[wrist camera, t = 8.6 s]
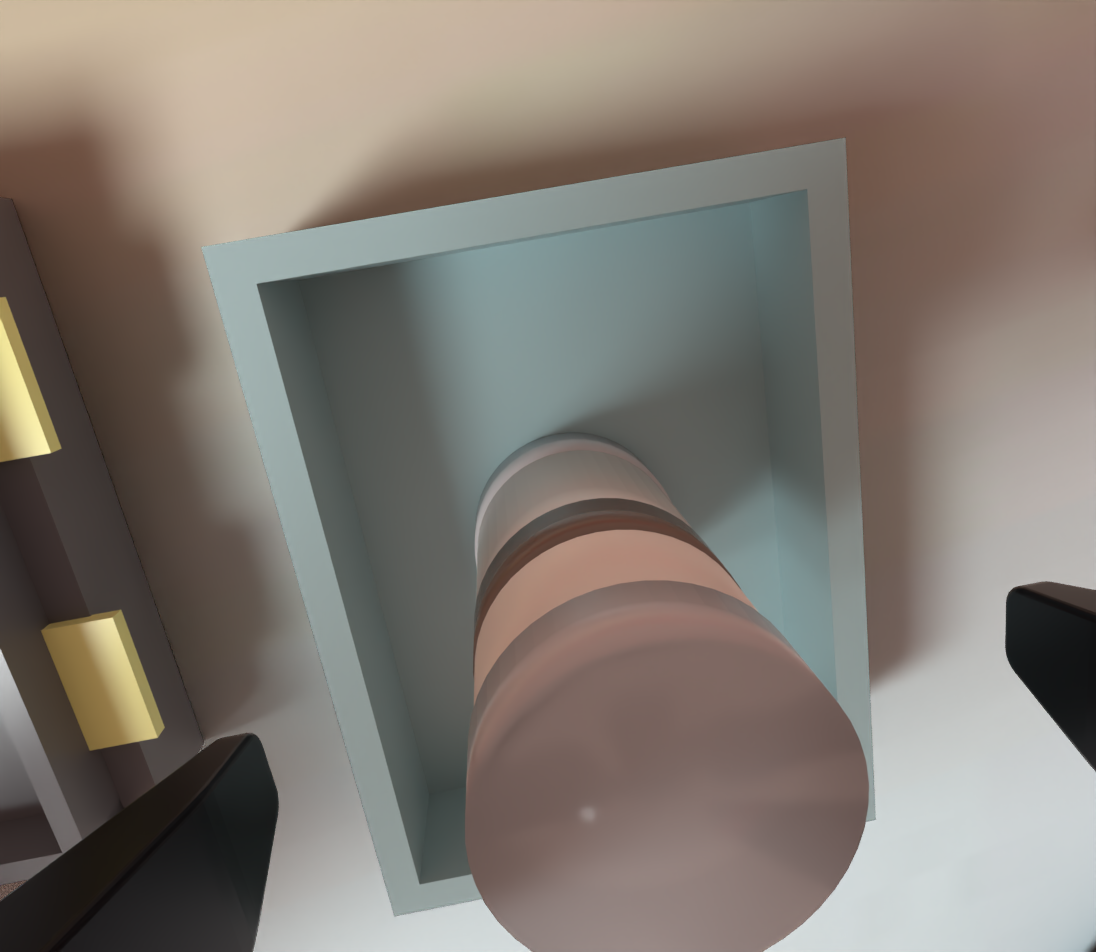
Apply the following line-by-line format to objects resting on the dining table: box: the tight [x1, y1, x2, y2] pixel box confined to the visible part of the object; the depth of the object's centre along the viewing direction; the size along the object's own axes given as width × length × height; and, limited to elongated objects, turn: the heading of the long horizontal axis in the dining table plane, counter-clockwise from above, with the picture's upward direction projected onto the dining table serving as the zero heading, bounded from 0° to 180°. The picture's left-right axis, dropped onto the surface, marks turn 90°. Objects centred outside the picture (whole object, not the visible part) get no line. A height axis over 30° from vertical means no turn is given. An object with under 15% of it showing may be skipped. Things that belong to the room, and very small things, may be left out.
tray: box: [201, 138, 876, 916], centre depth 13 cm, size 12×9×3 cm
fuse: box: [465, 432, 869, 952], centre depth 10 cm, size 4×4×8 cm
